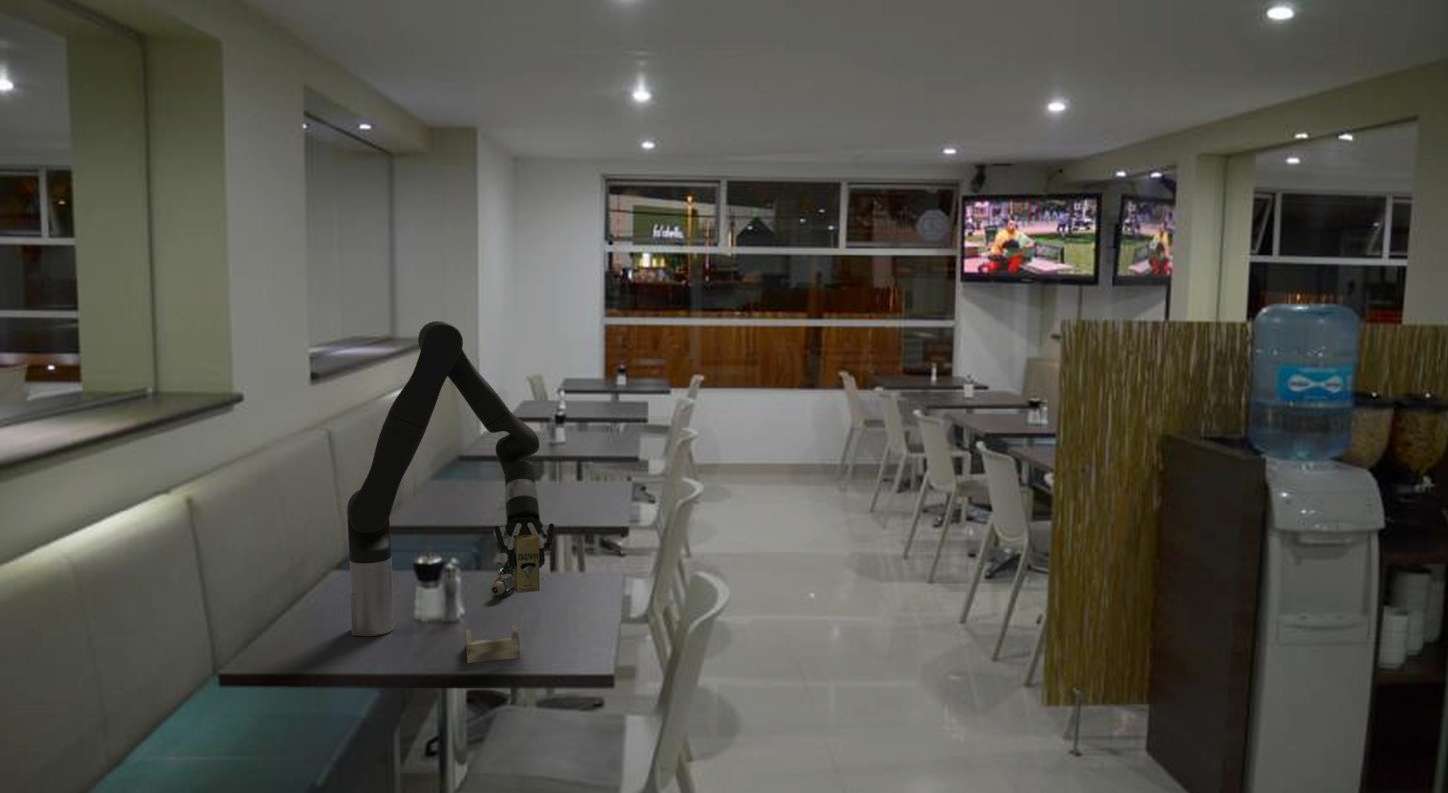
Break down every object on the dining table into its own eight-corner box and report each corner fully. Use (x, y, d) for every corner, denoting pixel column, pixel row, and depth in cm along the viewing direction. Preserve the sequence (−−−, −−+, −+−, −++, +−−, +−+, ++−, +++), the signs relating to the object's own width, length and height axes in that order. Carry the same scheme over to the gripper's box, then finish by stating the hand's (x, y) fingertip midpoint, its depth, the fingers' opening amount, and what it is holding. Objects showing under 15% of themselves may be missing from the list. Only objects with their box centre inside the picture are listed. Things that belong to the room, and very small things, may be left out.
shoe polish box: (513, 587, 241) (512, 535, 239) (534, 584, 243) (534, 533, 241) (517, 593, 236) (517, 540, 235) (539, 591, 238) (539, 538, 237)
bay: (467, 662, 226) (467, 644, 226) (466, 645, 237) (465, 628, 237) (519, 657, 229) (519, 640, 229) (516, 640, 240) (515, 623, 239)
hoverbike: (542, 576, 292) (542, 547, 291) (512, 604, 267) (512, 572, 267) (509, 575, 293) (508, 545, 292) (476, 602, 269) (475, 570, 268)
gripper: (491, 495, 242) (494, 560, 232) (554, 492, 246) (560, 556, 236) (489, 513, 248) (493, 577, 238) (551, 510, 252) (557, 573, 242)
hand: (526, 566), depth 237 cm, fingers closed on shoe polish box, 5 cm apart
